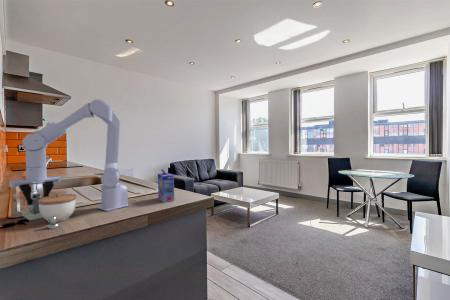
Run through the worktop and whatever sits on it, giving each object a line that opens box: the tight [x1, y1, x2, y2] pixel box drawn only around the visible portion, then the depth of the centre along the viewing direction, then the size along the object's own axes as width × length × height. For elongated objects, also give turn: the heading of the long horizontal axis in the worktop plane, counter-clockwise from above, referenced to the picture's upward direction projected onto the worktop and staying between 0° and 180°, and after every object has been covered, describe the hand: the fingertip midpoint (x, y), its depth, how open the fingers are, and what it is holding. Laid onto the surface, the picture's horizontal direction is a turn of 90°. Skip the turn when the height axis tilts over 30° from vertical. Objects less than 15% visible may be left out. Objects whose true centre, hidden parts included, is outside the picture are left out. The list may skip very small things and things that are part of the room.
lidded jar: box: [38, 192, 77, 223], centre depth 77 cm, size 11×11×9 cm
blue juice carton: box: [157, 169, 175, 203], centre depth 105 cm, size 10×6×14 cm, turn 31°
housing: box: [27, 192, 45, 214], centre depth 82 cm, size 4×8×6 cm, turn 53°
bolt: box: [46, 216, 60, 230], centre depth 70 cm, size 3×3×3 cm
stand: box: [21, 209, 43, 221], centre depth 82 cm, size 7×10×2 cm
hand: (37, 203), depth 82 cm, fingers closed on housing, 4 cm apart
